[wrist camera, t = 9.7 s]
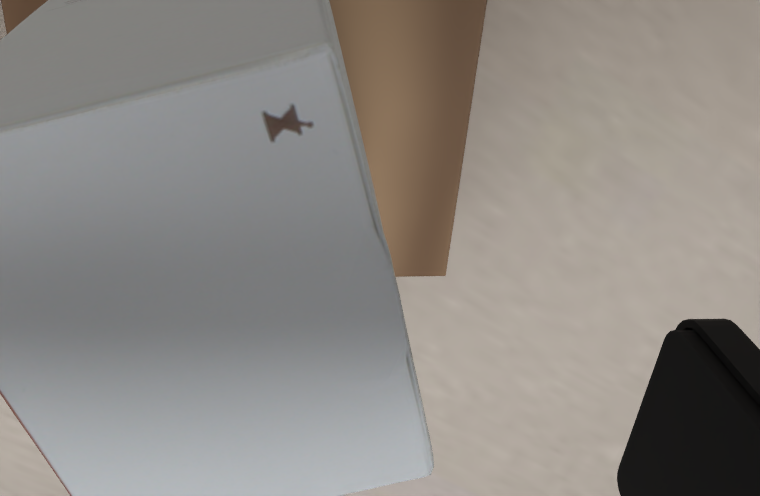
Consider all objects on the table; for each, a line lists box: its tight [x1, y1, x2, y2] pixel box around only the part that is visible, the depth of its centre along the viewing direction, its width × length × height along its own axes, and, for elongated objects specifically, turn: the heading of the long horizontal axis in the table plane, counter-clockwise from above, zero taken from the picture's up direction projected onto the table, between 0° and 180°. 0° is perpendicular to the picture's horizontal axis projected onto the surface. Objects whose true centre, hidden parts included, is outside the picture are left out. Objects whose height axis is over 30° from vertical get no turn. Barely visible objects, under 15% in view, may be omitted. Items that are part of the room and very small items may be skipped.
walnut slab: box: [1, 0, 487, 277], centre depth 24 cm, size 14×14×4 cm
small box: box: [0, 0, 434, 496], centre depth 16 cm, size 8×6×13 cm
